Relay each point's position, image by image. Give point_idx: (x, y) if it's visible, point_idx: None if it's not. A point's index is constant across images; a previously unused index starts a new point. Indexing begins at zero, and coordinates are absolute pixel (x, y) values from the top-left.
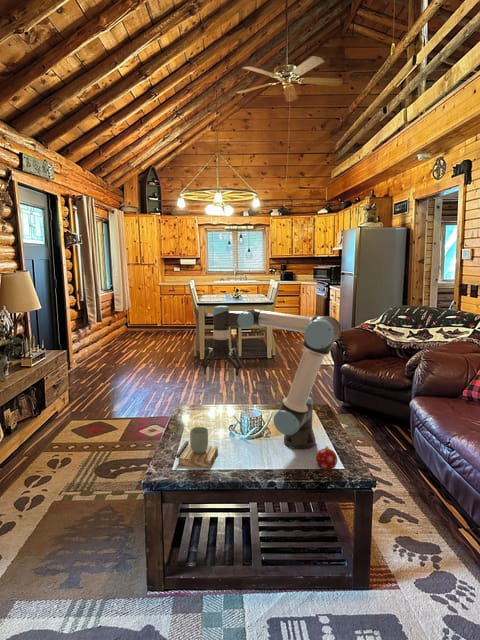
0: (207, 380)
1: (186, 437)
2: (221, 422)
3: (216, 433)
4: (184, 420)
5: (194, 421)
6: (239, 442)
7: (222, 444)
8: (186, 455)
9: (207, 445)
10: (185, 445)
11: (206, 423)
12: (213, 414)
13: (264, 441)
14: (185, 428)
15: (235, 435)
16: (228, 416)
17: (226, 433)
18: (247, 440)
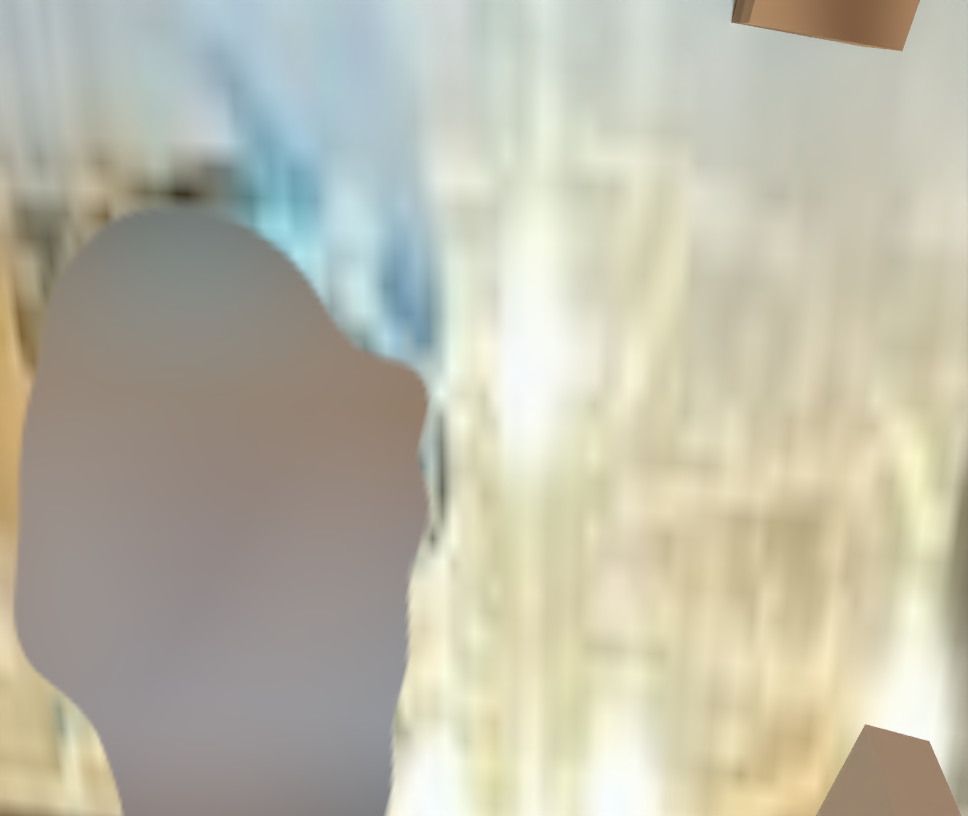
0: (891, 764)
1: (956, 259)
2: (526, 613)
3: (585, 347)
4: (926, 703)
5: (816, 667)
6: (322, 82)
7: (519, 29)
8: None
9: None
10: None
11: (687, 607)
12: (604, 796)
13: (53, 101)
14: (938, 507)
15: (373, 280)
16: (455, 736)
17: (473, 340)
18: (236, 136)
